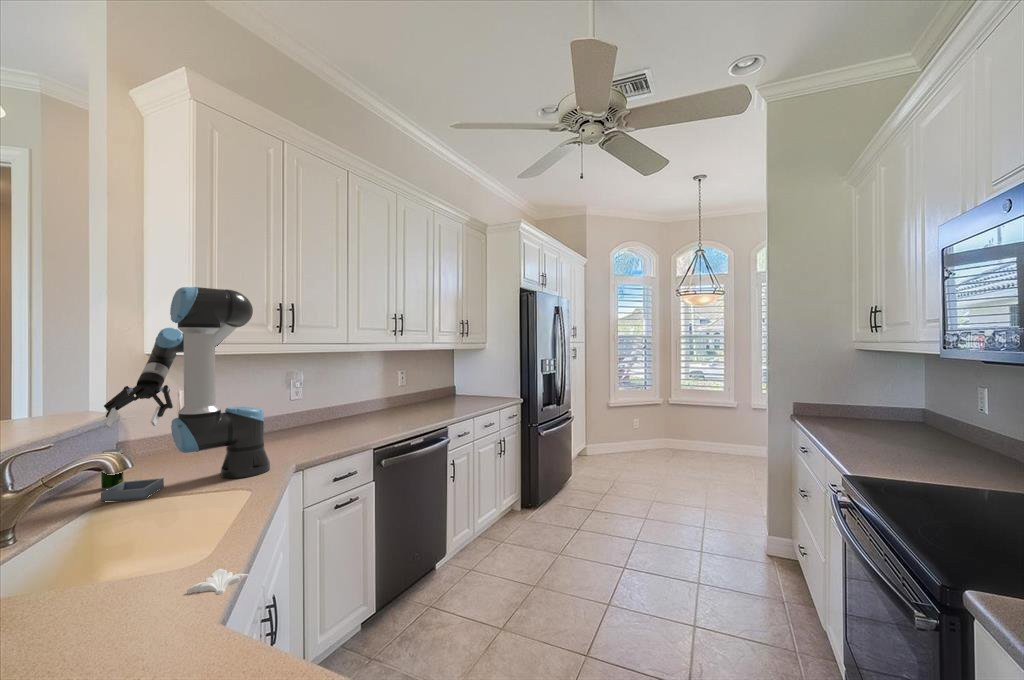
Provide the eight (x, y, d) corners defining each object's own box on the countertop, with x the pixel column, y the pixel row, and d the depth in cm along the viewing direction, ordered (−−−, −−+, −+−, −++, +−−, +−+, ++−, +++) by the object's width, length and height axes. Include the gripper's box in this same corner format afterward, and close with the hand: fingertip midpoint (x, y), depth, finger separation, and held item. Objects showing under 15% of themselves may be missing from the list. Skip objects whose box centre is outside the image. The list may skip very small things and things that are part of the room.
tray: (163, 487, 144) (163, 478, 144) (144, 499, 133) (144, 489, 133) (123, 490, 141) (123, 481, 141) (100, 503, 130) (100, 492, 130)
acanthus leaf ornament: (186, 597, 82) (186, 586, 82) (214, 577, 89) (214, 568, 89) (224, 598, 82) (224, 587, 82) (249, 578, 89) (249, 568, 89)
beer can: (99, 491, 141) (98, 453, 141) (103, 487, 145) (102, 450, 145) (122, 488, 144) (121, 451, 144) (125, 483, 148) (124, 447, 148)
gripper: (193, 382, 175) (175, 428, 161) (118, 384, 169) (92, 432, 155) (187, 370, 170) (167, 416, 156) (109, 371, 164) (81, 420, 150)
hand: (130, 424), depth 155 cm, fingers open, 13 cm apart
